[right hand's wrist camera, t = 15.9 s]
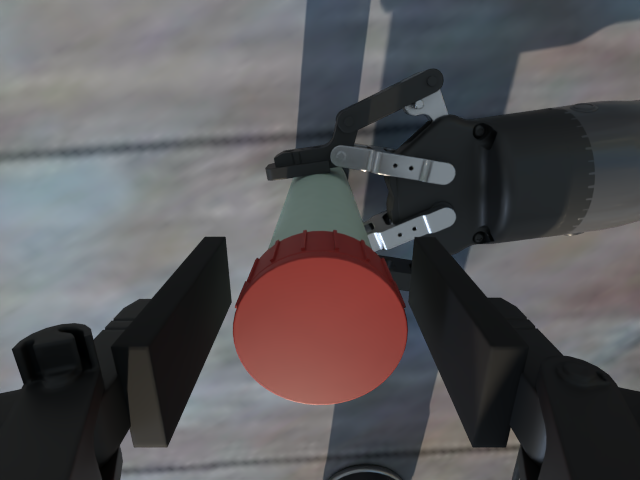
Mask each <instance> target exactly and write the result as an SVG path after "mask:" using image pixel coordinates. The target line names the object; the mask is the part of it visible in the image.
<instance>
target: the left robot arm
mask: <svg viewBox="0 0 640 480" xmlns="http://www.w3.org/2000/svg"><path fill="white" fill-rule="evenodd" d="M442 85H443V75H442V73H441V72H440V71H439V70H437V69H429V70H425V71H422V72H419V73H416V74H414V75H412V76H410V77H408V78H406V79H404V80H402V81H400V82H398V83H396V84H394V85H392V86H390V87H388V88H386V89H384V90H382V91H380V92H378V93H376V94H374V95H372V96H370V97H368V98H366V99H364V100H362V101H360V102H358V103H356V104H354V105H352V106H349V107H347V108H345V109H343V110H341V111H340V112H339V113H338V114H337V116H336V125H335V129H334V134H333V137H332V139H331V140H330V142H328V143H327V144H325V145H321V146H313V147H306V148H299V149H292V150H285V151H283V152H281V153H279V154H278V155H276V157H275V158H274V161H275V163H272V164H269V165H268V166H267V167H266V174H267V179H268V180H270V181H271V180H280V179H287V178H294V177H302V176H309V175H315V174H324V173H330V168H335V167H343V168H350V169H356V170H363V171H368V172H371V173H375V174H380V175H384V179H385V182H386V185H387V187H388V190H389V193H388V198H387V203H386V204H387V210H386V211H384V212H382V213H379V214H377V215H375V216H373V217H372V218H371V219H370V220H368V221H367V222H364V223H363V225H364V227H365V230H366V233H367V236H368V239H369V241H370V244H371V247H372V250H373V251H374V252H376V251H378V250H381V249H383V250H389V249H392V248H394V247H397V246H399V245H401V244H404V243H406V242H409V241H411V240H414V237H436V238H437V240H438V241H439V242H440V243H441V244H442V245H443V247H444V248H445V249H446V250H447V251H448V252H449V254H450V255H453V254H456V253H458V252H460V251H461V250H463V249H465V248H466V247H469V246H471V245H475V244H494V243H502V242H510V241H518V240H525V239H533V238H541V237H549V236H557V235H578V234H581V233H584V232H588V231H597V230H603V229H609V228H614V227H618V226H622V225H625V224H629V223H633V222H637V221H640V100H635V101H599V102H590V103H580V104H575V105H569V106H563V107H556V108H548V109H541V110H534V111H527V112H520V113H513V114H506V115H499V116H492V117H485V118H478V119H469V120H466V119H462V118H460V117H458V116H455V115H449V114H448V111H447V108H446V105H445V102H444V99H443V96H442V93H441V90H440V88H441V87H442ZM402 108H403V111H404V112H405V113H406V114H408V115H413V116H417V115H421V114H423V115H425V116H426V117H427V118H428V120H429V121H428V122H426V123H425V124H424V125H423V126H422V127H421V128H420V129H419V130H418V131H417V132H416V133H414V134H413V135H412V136H411V137H410V138H409V139H408V140H407V141H406V142H405V143H404V144H402V145H401V146H400V147H399V148H398V149H392V148H386V147H379V146H372V145H362V144H355V139H356V135H357V130H359V129H361V128H363V127H365V126H367V125H369V124H371V123H373V122H375V121H377V120H379V119H381V118H384V117H386V116H388V115H390V114H392V113H394V112H396V111H398V110H400V109H402ZM399 233H400V234H399ZM378 256H379V257H380V258H381V259H382V258H384V259H385V261H386V263H387V266H388V268H389V271H390V273H391V276H392V278H393V280H394V281H395V282H396V284H397V286H398V289H399V290H404V291H409V290H410V280H411V269H412V260H406V259H400V258H393V257H387V256H380V255H378ZM329 480H402V478H401V477H400V476H398V475H397V474H396V473H394V472H393V471H391V470H389V469H386V468H383V467H379V466H373V465H359V466H353V467H349V468H346V469H344V470H341V471H339V472H338V473H336V474H334V475H333V476H332V477H331V478H329Z"/></svg>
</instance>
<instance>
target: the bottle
mask: <svg viewBox="0 0 640 480" xmlns="http://www.w3.org/2000/svg"><path fill="white" fill-rule="evenodd" d="M303 230H307V232H310V231H331V232H333V230H337V233H341V234H345V235H348V236H350V237H353V238H355V239H357V240H359V241H361V239H362V240H364V241H365V244H366V245H367V246H368V247H370V248H371V249H372V247H371V244H370V241H369V239H368V236H367V233H366V230H365V227H364V225H363V222H362V219H361V216H360V213H359V211H358V208H357V205H356V202H355V199H354V197H353V194H352V191H351V188H350V185H349V183H348V180H347V177H346V174H345V172H344V170H343V169H342V167H335V168H330V173H324V174H315V175H309V176H302V177H294V178H293V181H292V183H291V186H290V189H289V192H288V195H287V197H286V200H285V203H284V206H283V209H282V212H281V214H280V217H279V220H278V223H277V226H276V229H275V231H274V234H273V237H272V240H271V243H270V246H269V248H268V249H270V248H271V247H272V246H274V245H275V242H276V241H277V240H279V241H282V240H283V239H285V238H288V237H290V236H293V235H296V234H299V233H303Z"/></svg>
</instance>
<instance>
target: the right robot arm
mask: <svg viewBox="0 0 640 480" xmlns="http://www.w3.org/2000/svg"><path fill="white" fill-rule="evenodd" d="M231 302H232V301H231V290H230V280H229V269H228V258H227V247H226V237H204V238H203V240H202V241H201V242H200V243H199V244H198V245H197V247H196V248H195V249H194V250H193V251H192V252H191V254H190V255H189V256H188V257H187V258H186V259H185V261H184V262H183V263H182V264H181V265H180V266H179V268H178V269H177V270H176V271H175V272H174V273H173V275H172V276H171V277H170V278H169V279H168V280H167V282H166V283H165V284H164V285H163V286H162V287H161V289H160V290H159V291H158V292H157V293H156V294H155V296H154V297H153V298H152V299H139V300H137V301H135V302H133V303H132V304H130V305H128V306H127V307H125V308H123V309H122V311H121V312H120V313H119V314H118V315H117V316H116V317H115V318H114V321H111V322H110V323H109V324H108V325H107V326H106V327H105V330H102V331H101V332H100V334H99V335H98V336H97V337H96V338H95V339H94V340H93V336H92V332H91V329H90V328H89V327H87V326H86V325H83V324H76V323H72V324H61V325H57V326H53V327H49V328H45V329H43V330H40V331H38V332H35V333H33V334H31V335H29V336H28V337H26V338H24V339H23V340H21V341H20V342H19V343H18V344H17V345H16V346H15V347H14V348H13V349H12V351H13V354H14V357H15V360H16V363H17V366H18V369H19V372H20V375H21V378H22V381H23V383H24V385H23V387H22V389H19V390H15V391H10V392H5V393H0V480H120V477H121V470H122V463H123V459H122V452H121V448H120V444H121V442H122V440H123V439H124V437H125V435H126V434H127V432H128V430H129V428H130V432H131V437H132V441H133V445H134V447H168V445H169V442H170V440H171V438H172V436H173V433H174V431H175V429H176V427H177V424H178V422H179V420H180V418H181V415H182V413H183V411H184V409H185V406H186V404H187V402H188V399H189V397H190V395H191V393H192V390H193V388H194V386H195V384H196V381H197V379H198V377H199V375H200V372H201V370H202V368H203V366H204V363H205V361H206V359H207V357H208V354H209V352H210V350H211V348H212V345H213V343H214V341H215V339H216V336H217V334H218V332H219V330H220V327H221V325H222V323H223V320H224V318H225V316H226V314H227V311H228V309H229V307H230V305H231ZM408 302H409V305H410V307H411V309H412V311H413V314H414V316H415V318H416V320H417V323H418V325H419V327H420V330H421V332H422V334H423V336H424V339H425V341H426V343H427V345H428V348H429V350H430V352H431V354H432V357H433V359H434V361H435V363H436V366H437V368H438V370H439V372H440V375H441V377H442V379H443V381H444V384H445V386H446V388H447V390H448V393H449V395H450V397H451V399H452V402H453V404H454V406H455V409H456V411H457V413H458V415H459V418H460V420H461V422H462V424H463V427H464V429H465V431H466V433H467V436H468V438H469V440H470V442H471V445H472V447H506V445H507V441H508V437H509V432H510V428H512V430H513V432H514V433H515V435H516V437H517V438H518V440H519V442H520V443H521V444H520V448H519V452H518V456H517V460H516V464H515V468H514V472H513V476H512V480H519V478H520V480H640V392H639V391H634V390H629V389H624V388H620V387H618V386H617V384H616V383H615V382H614V380H613V379H612V378H611V377H610V376H609V375H608V374H607V373H605V372H604V371H603V370H601V369H600V368H598V367H597V366H595V365H592V364H590V363H588V362H586V361H584V360H581V359H577V358H574V357H570V356H563V355H562V354H561V353H560V352H559V350H558V349H557V348H556V347H555V346H554V345H553V344H552V343H551V342H550V341H549V340H548V339H547V338H546V337H545V336H544V335H543V334H542V333H541V332H540V331H539V330H538V329H535V326H534V325H533V323H532V322H531V321H530V320H527V317H526V316H525V315H524V314H523V313H522V312H521V311H520V310H519V309H518V308H517V307H516V306H514V305H512V304H511V303H509V302H507V301H505V300H504V299H502V298H487V297H486V296H485V294H484V293H483V292H482V291H481V290H480V289H479V287H478V286H477V285H476V284H475V283H474V282H473V280H472V279H471V278H470V277H469V276H468V275H467V273H466V272H465V271H464V270H463V269H462V268H461V266H460V265H459V264H458V263H457V262H456V261H455V259H454V258H453V257H452V256H451V255H450V254H449V252H448V251H447V250H446V249H445V248H444V247H443V245H442V244H441V243H440V242H439V241H438V240H437V238H436V237H414V247H413V258H412V269H411V280H410V290H409V301H408Z"/></svg>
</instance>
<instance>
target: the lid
mask: <svg viewBox="0 0 640 480" xmlns="http://www.w3.org/2000/svg"><path fill="white" fill-rule="evenodd" d="M405 307H406V306H405V303H404V301H403V298H402V296H401V294H400V291H399V289H398V286H397V284H396V282H395V281H394V280H393V278H392V276H391V273H390V271H389V268H388V266H387V263H386V261H385V259H384V258H382V259H381V258H380V257H379V256H378V255H377V254H376V253H375V252H374V251H373V250H372V249H371V248H370V247H368V246H367V245H366V244H365V241H364V240H362V239H361V241H359V240H357V239H355V238H353V237H350V236H348V235H345V234H341V233H337V230H333V232H331V231H310V232H307V230H303V233H299V234H296V235H293V236H290V237H288V238H285V239H283V240H282V241H279V240H277V241H276V242H275V245H274V246H272V247H271V248H270V249H268V250H267V251H266V252H265V253H264V254H263V255H262V256H261V258H260V259H258V258H257V259H256V260H255V262H254V265H253V267H252V270H251V272H250V274H249V277H248V279H247V282H246V281H245V283H244V286H243V288H242V290H241V293H240V295H239V298H238V300H237V302H236V305H235V308H237V309H236V312H235V317H234V322H233V337H234V344H235V347H236V351H237V354H238V356H239V358H240V360H241V362H242V364H243V366H244V367H245V369H246V370H247V371H248V373H249V374H250V375H251V376H252V377H253V378H254V379H255V380H256V381H257V382H258V383H259V384H260V385H262V386H263V387H264V388H266V389H267V390H269V391H271V392H272V393H274V394H276V395H278V396H280V397H283V398H285V399H288V400H291V401H295V402H299V403H304V404H313V405H329V404H337V403H342V402H346V401H350V400H353V399H355V398H358V397H360V396H362V395H365V394H367V393H368V392H370V391H372V390H373V389H375V388H376V387H378V386H379V385H380V384H381V383H383V382H384V381H385V380H386V379H387V378H388V377H389V376H390V375H391V373H392V372H393V371H394V369H395V368H396V367H397V365H398V363H399V361H400V360H401V358H402V355H403V353H404V350H405V346H406V342H407V333H408V326H407V318H406V314H405V310H404V308H405Z"/></svg>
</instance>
